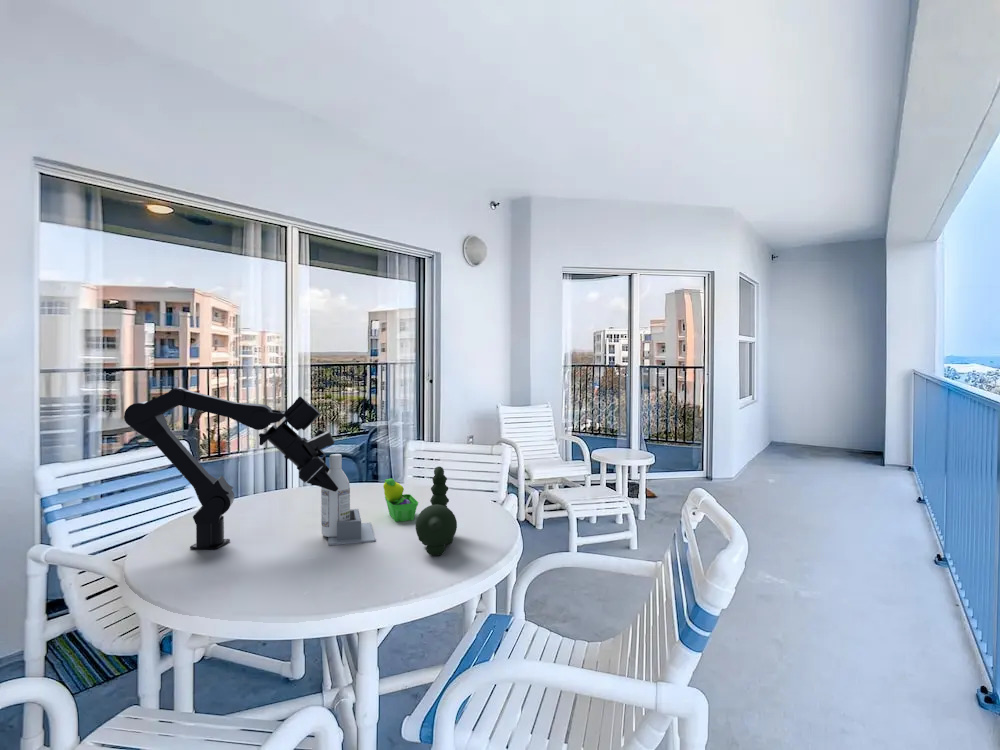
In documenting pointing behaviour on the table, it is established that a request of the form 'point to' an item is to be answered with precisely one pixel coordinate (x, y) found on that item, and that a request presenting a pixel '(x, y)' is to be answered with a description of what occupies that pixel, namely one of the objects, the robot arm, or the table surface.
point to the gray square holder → (352, 531)
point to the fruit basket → (399, 501)
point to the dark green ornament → (437, 518)
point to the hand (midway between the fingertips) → (336, 486)
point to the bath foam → (335, 499)
